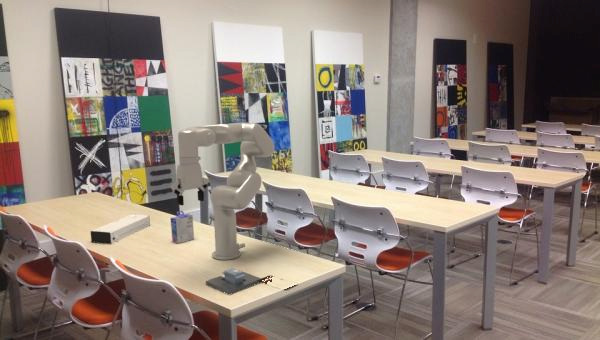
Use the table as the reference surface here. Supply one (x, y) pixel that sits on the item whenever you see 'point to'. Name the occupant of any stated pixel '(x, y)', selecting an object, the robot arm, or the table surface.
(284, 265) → the table surface
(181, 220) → the ink cartridge box
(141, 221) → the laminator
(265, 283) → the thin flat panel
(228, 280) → the servo
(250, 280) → the frame
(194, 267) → the table surface
